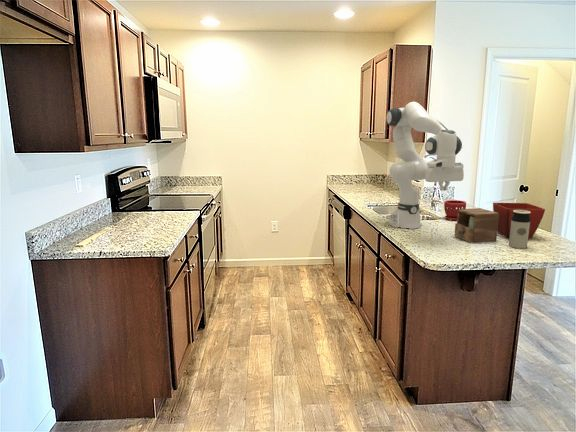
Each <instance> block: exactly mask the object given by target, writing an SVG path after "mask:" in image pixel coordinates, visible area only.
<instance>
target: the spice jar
mask: <svg viewBox="0 0 576 432" xmlns="http://www.w3.org/2000/svg"><path fill="white" fill-rule="evenodd" d="M473 227H474V216H470V218H469V228H472V229H473Z"/></svg>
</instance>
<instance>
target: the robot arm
mask: <svg viewBox="0 0 576 432" xmlns="http://www.w3.org/2000/svg"><path fill="white" fill-rule="evenodd" d="M385 117H386V118H385V119H386V120H385V121H386V124H387V125H388V126H389V127H394V128H393V130H392V138H393V139H392V140H393V144H394V150H395V154H396V155H397V157H398V159H400V160H401V161H399V162H398V161H397V162H395V163H392V164H391V165H390V167H389V176H390V178H391V179H392V180H393V181H395V183H396V184H397V187H398V190H399V202H398V203H397V207H396V209H395V210H394V211H393V212H391V214H390V219H388V220H386V223H387V222H388V224H389V225H390V226H391V225H392V228H398V227H401V228H400V229H406V228H409V229H410V230H411V229H412V230H413V229H419V228H421V227H422V225H423V224H422V223H421V213H420V211H419V210H420V203H419V199H420V191H419V189H418V188H417V187H415V186H414V185H413V184H412V181H423V180H425V182H427V183H437V184H438V186H439V191H447V190H448V187H449V185H450V183H451V182H462V181H463V180H464V178H465V177H464V174H465V173H464V164H463V163H462V162H456V158H457V157H456V156H457V155H458V154H459V153H460V152H461V151H462V148H463V142H462V140H461V138H460V137H459V136H457V133H456V131H455V130H452V129H448V128H447V127H446V126H445V125H444V124H443V123H442V122H441V121H439V120H438V119H437V118H434V117H433V116H432V115H431V114H430V113H428V112H427V110H426V109H425V108H424V107H423V106H422V105H421V104H420V103H418V102H417V101H411V102H408V103H407V104H406V105H405V107H399V108H397V107H395V108H390V109H389V110H388V111H387V112H386V116H385ZM411 130H414V131H416V132H421V133H428V134H433V135H434V136H431V137H428V138H427V140H426V141H425V145H424V148H425V151H426V153H427V155H430V156H436V159H433V160H431V161H426V160H425V159H423V158H422V157H421V156H420V154H419V152H417V149H416V145H415V144H414V140H413V137H412V131H411ZM443 184H444V185H443ZM409 229H408V230H409Z"/></svg>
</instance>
